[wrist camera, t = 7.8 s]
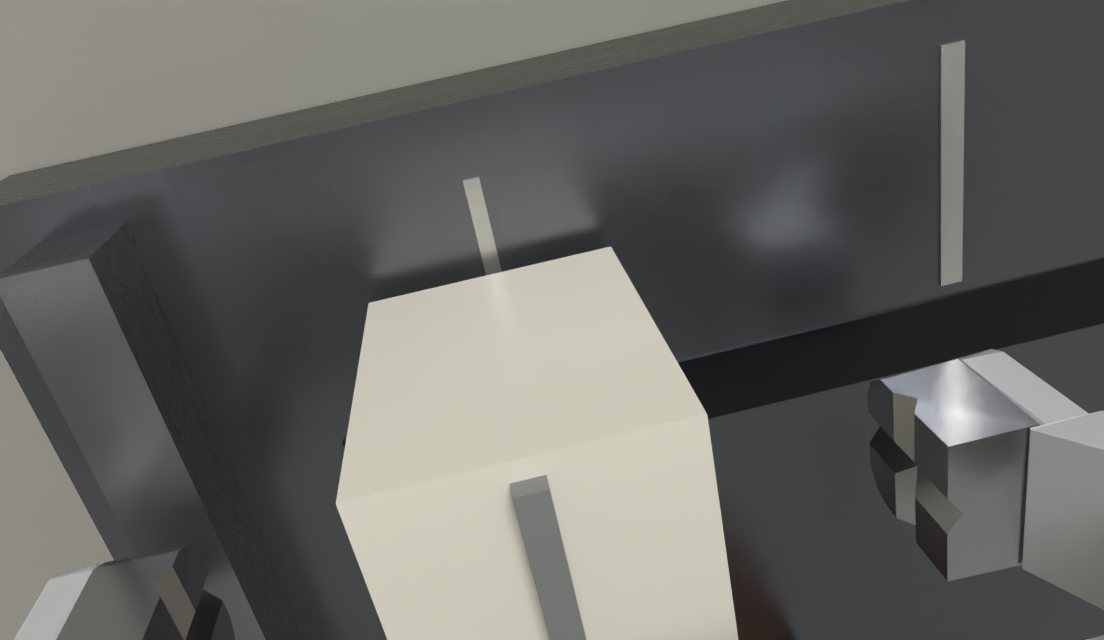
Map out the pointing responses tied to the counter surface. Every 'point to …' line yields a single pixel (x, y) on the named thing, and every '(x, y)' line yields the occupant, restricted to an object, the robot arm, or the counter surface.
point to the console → (577, 227)
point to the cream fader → (532, 465)
